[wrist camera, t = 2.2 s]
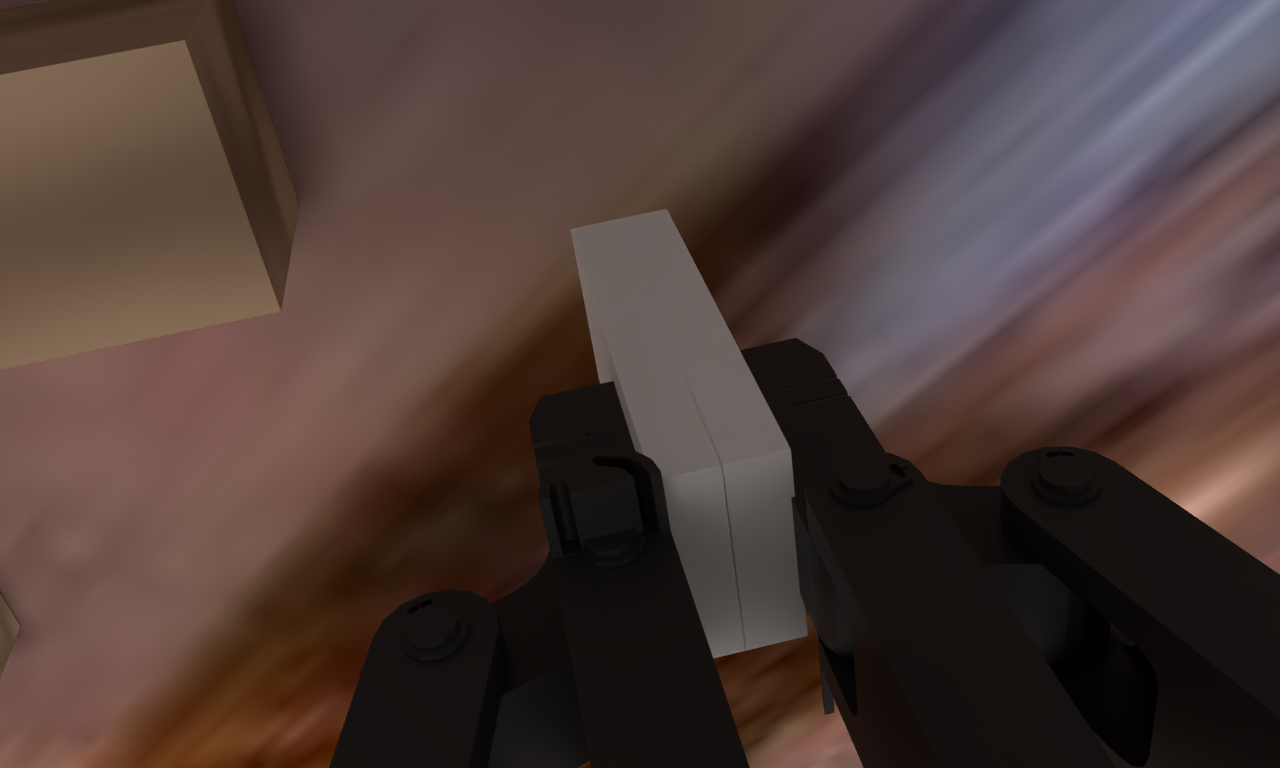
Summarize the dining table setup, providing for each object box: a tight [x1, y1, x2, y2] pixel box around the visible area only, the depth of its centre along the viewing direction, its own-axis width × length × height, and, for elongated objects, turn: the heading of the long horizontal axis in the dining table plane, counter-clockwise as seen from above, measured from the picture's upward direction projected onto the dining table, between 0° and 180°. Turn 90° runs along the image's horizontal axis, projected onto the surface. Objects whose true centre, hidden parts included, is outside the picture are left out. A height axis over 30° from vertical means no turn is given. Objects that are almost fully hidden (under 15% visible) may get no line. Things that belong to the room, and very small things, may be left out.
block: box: [0, 0, 299, 369], centre depth 26 cm, size 6×6×6 cm
